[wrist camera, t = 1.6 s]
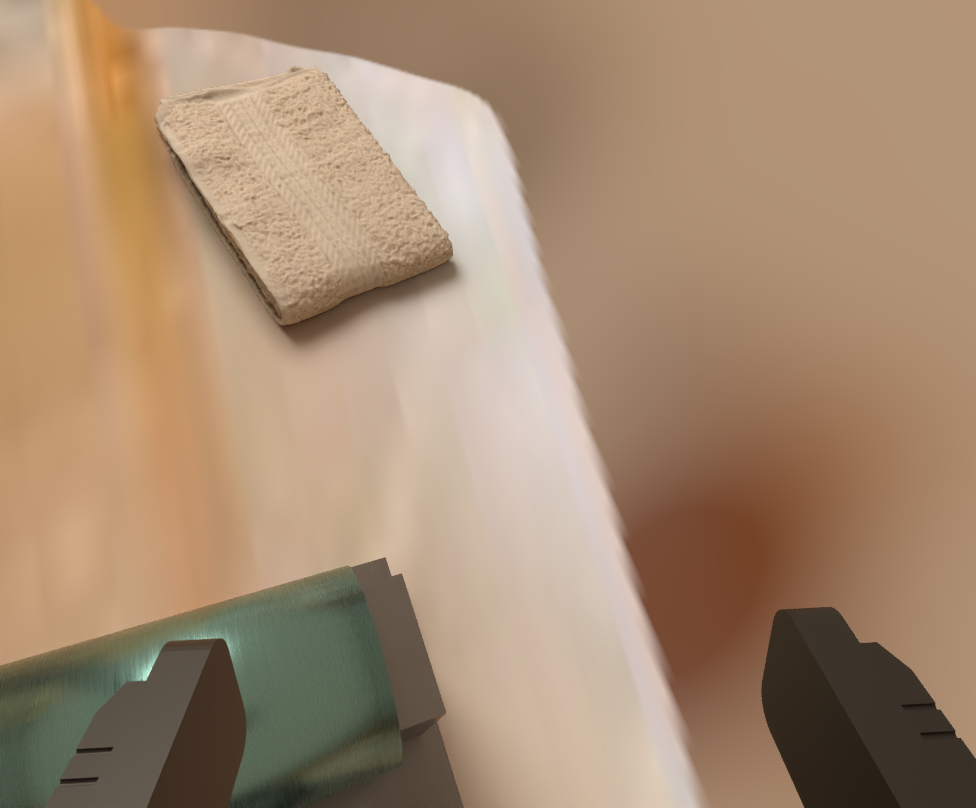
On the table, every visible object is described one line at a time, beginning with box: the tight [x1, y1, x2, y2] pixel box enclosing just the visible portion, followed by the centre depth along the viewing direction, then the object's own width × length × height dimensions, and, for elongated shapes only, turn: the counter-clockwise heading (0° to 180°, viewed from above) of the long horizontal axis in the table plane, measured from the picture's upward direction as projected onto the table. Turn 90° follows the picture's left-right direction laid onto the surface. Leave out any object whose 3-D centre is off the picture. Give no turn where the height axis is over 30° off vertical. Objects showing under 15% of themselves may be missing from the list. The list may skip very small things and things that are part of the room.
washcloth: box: [155, 66, 453, 326], centre depth 44 cm, size 12×18×3 cm, turn 36°
